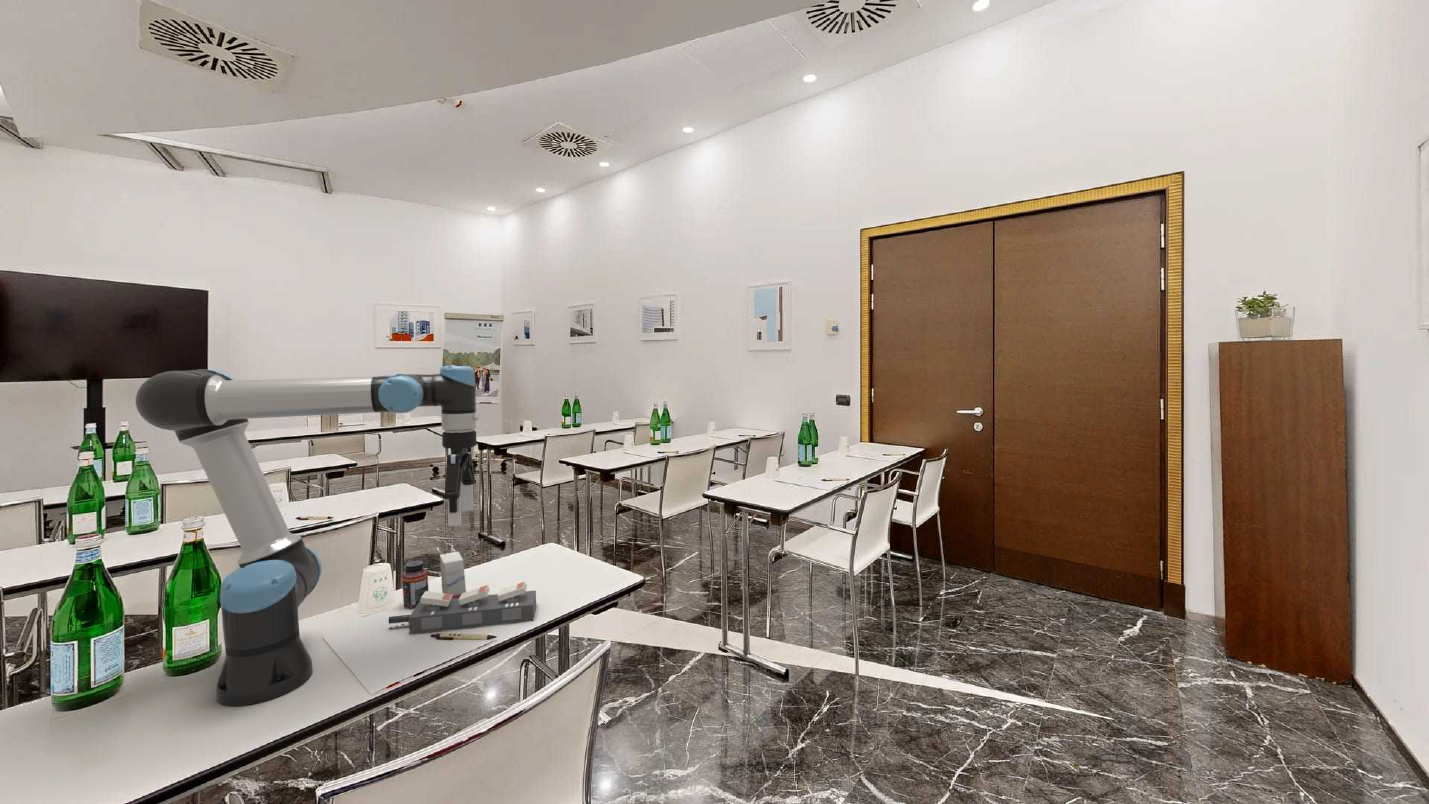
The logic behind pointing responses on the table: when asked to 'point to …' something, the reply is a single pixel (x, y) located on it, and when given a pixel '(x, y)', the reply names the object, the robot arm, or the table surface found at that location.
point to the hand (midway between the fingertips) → (461, 517)
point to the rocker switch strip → (470, 613)
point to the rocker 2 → (474, 595)
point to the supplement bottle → (414, 583)
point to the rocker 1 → (436, 598)
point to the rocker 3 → (512, 591)
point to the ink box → (452, 574)
